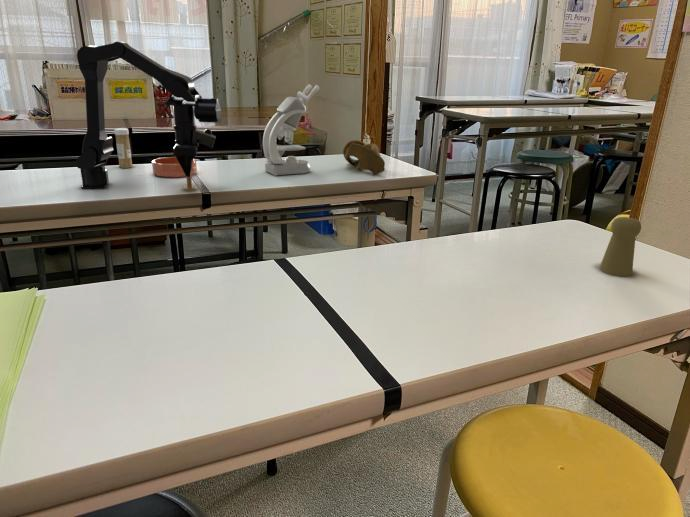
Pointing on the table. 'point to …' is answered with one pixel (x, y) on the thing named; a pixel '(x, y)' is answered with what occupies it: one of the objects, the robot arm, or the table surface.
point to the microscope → (286, 135)
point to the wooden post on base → (189, 184)
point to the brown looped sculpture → (364, 156)
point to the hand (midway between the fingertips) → (188, 175)
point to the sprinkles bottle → (123, 147)
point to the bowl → (170, 167)
